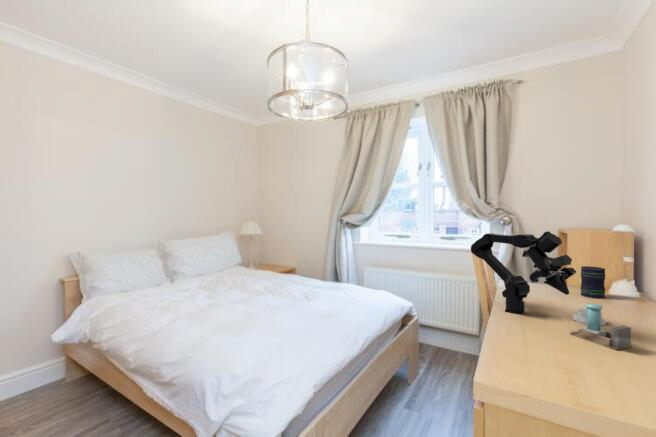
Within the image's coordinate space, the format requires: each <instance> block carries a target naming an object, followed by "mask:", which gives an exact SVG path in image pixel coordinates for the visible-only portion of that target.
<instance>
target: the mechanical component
mask: <svg viewBox="0 0 656 437" xmlns="http://www.w3.org/2000/svg"><path fill="white" fill-rule="evenodd" d="M602 317H603V316H602V313H601V326H605V325H606V324H607V323H606V322H607V321H606V320H605V319H604V318H602ZM572 318H573V320H574V321H576V322H579V323H582V324H585V325H587V308H581V307H580V308H577V311H576V313H575V314H573V315H572Z"/></svg>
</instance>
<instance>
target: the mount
mask: <svg viewBox="0 0 656 437" xmlns="http://www.w3.org/2000/svg"><path fill="white" fill-rule="evenodd" d="M577 330H578V331H573V332H572V331H571V332H570V335H571V336H575V337H578V338H580V339H583V340H586V341H589V342H591V343H595V344H597V345H600V346H602V347H605V348H609V349H612V350H614V351H621V350H625V349H627V350H628V349H632V348H633V344H632V345H631V343H632V341H631V339H632V338H631V337H632V336H631V335H632V334H631V333H632V327H631V326H627V325H624V324H623V325H618V326H617V325H615V326H611V327H610V331H606V337H603V336H600V335H597V334H594V333H591V332H588V331H585V330H582V328H579V329H577Z"/></svg>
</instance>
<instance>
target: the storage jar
mask: <svg viewBox="0 0 656 437" xmlns="http://www.w3.org/2000/svg"><path fill="white" fill-rule="evenodd" d="M580 278H581V279H580V280H581V281H580V282H581V283H580V295H582V297H585V298H590V299H598V300H601V299H603V300H604V299H605V298H606V296H605V295H606V287H605V280H606V268H604V267H598V266H585V265H584V266H583V265H582V266H581V267H580Z"/></svg>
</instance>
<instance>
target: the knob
mask: <svg viewBox="0 0 656 437" xmlns="http://www.w3.org/2000/svg"><path fill="white" fill-rule="evenodd" d="M585 308H586V309H587V324H586V326H582V327H581V329H582V330H585V331H588V332H591V333H594V334H597V335H600V336H603V337H606V332H607V331H606V330H604V329H601V328H602V325H601V318H602V317H601V314H602V310H603V305H601V304H596V303H585Z"/></svg>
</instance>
